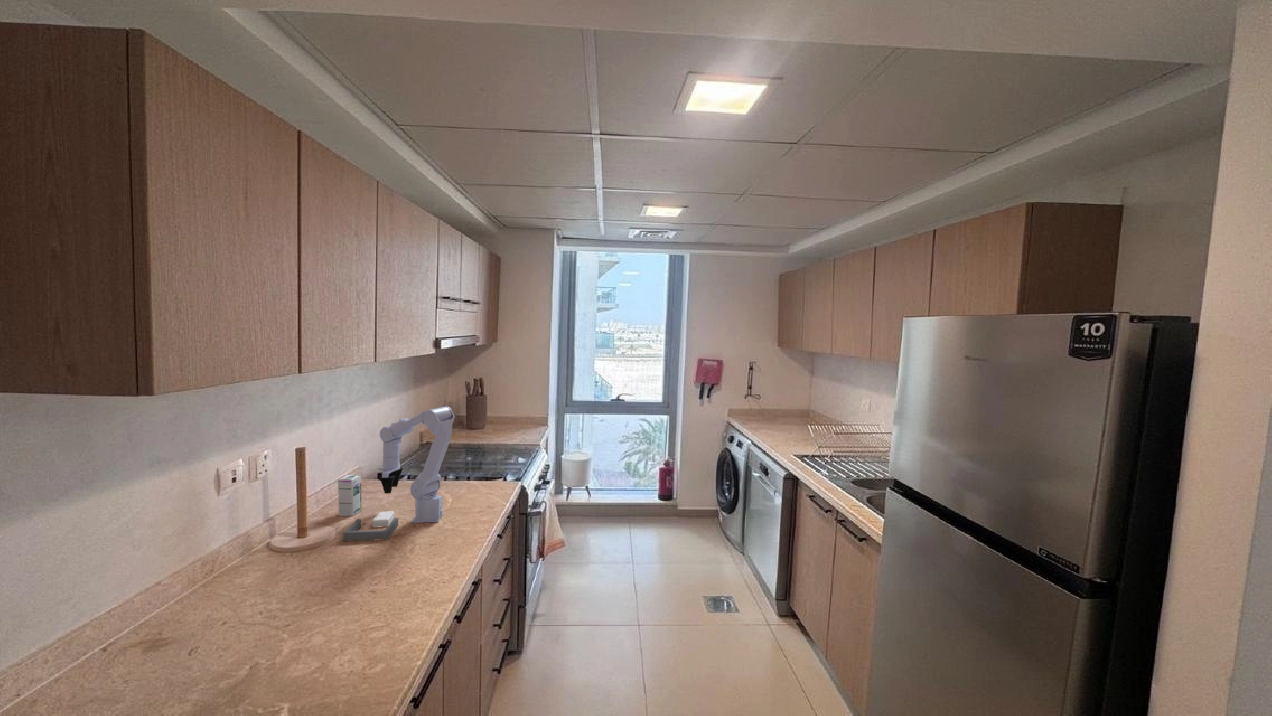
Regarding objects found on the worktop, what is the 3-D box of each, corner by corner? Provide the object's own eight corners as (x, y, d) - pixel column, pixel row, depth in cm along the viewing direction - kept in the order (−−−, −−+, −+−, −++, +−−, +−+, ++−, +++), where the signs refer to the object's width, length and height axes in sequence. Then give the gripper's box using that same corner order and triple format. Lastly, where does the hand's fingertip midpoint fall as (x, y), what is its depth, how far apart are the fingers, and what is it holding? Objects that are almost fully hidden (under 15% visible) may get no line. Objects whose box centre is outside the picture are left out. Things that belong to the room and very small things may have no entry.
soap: (388, 527, 178) (388, 519, 178) (371, 528, 177) (371, 520, 176) (394, 518, 187) (394, 510, 186) (379, 518, 185) (379, 511, 185)
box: (398, 525, 179) (398, 518, 178) (387, 539, 167) (387, 531, 167) (357, 527, 176) (357, 519, 176) (343, 541, 165) (343, 532, 165)
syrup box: (353, 516, 186) (352, 479, 185) (337, 515, 186) (337, 478, 185) (361, 510, 192) (361, 474, 191) (347, 510, 192) (346, 474, 191)
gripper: (386, 451, 197) (386, 483, 198) (373, 461, 183) (373, 496, 184) (405, 451, 198) (404, 483, 199) (393, 461, 184) (393, 496, 185)
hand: (391, 489), depth 192 cm, fingers open, 7 cm apart
